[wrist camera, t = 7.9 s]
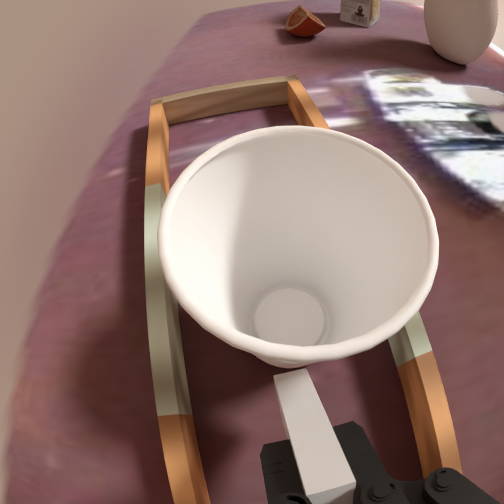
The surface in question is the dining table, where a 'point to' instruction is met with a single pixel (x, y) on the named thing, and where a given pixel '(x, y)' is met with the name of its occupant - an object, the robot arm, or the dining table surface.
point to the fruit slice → (303, 23)
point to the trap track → (166, 308)
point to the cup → (298, 244)
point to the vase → (460, 27)
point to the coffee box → (360, 12)
